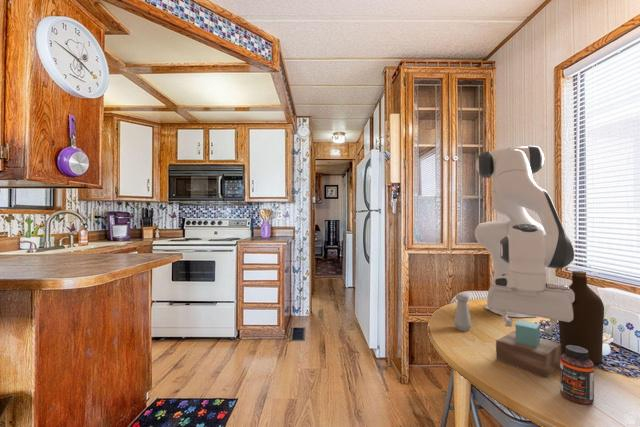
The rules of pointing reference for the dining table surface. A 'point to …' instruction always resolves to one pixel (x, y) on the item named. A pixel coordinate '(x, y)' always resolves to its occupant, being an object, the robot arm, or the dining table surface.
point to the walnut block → (529, 355)
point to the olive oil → (584, 320)
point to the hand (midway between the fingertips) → (527, 329)
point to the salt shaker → (462, 313)
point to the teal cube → (527, 333)
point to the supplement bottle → (577, 375)
